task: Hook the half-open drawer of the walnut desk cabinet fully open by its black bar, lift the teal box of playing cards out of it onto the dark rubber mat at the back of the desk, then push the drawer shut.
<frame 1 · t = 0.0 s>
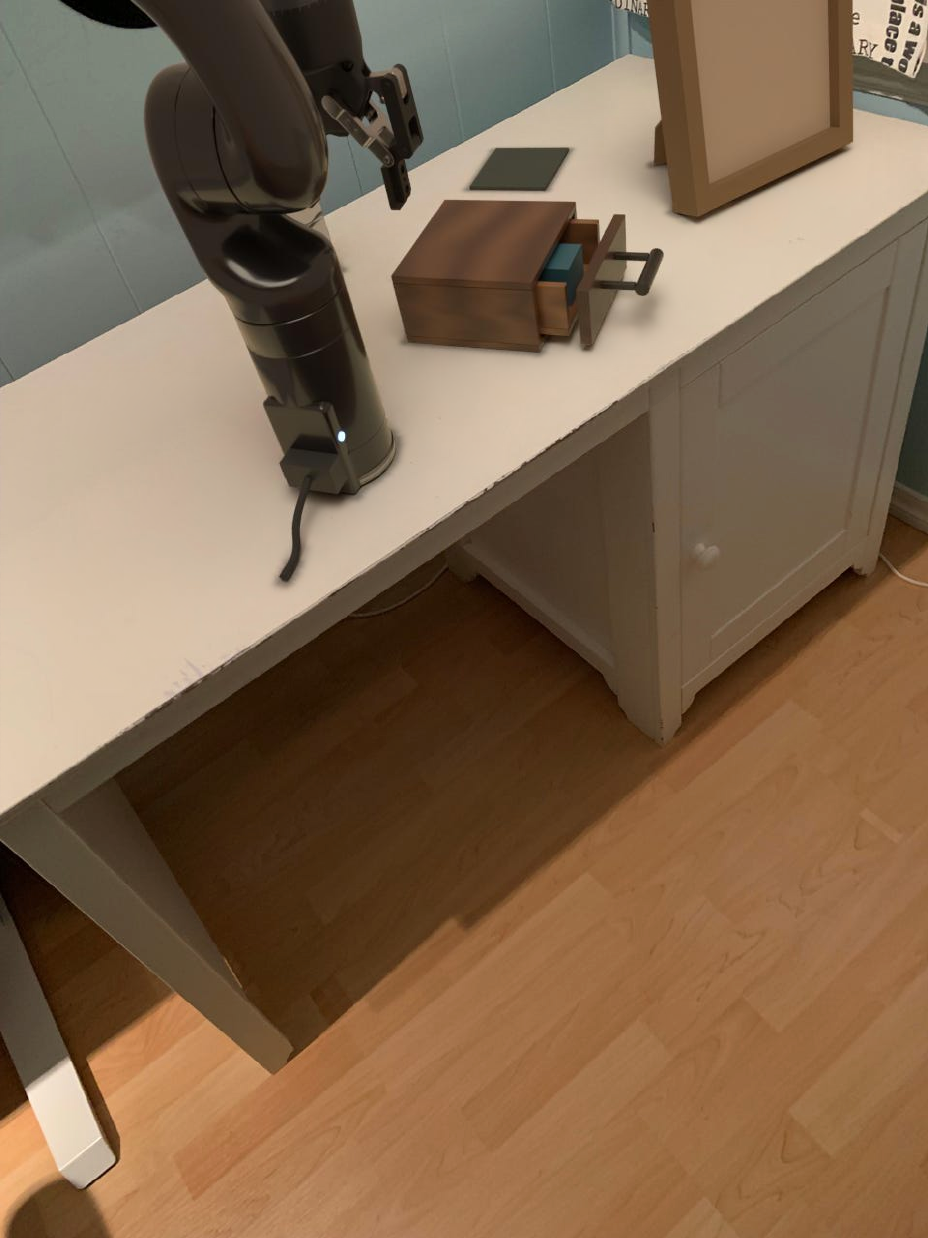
hand: (355, 204, 76), 17 cm above the table, tool pointing down, fingers open, 8 cm apart
mat: (519, 169, 111), on the table
photo frame: (731, 167, 103), on the table
card box: (547, 291, 89), point 2 cm above the table, touching drawer
ink box: (307, 270, 105), on the table
cabinet: (495, 305, 93), on the table
drawer: (565, 276, 87), point 4 cm above the table, slide at 4.0 cm, touching card box
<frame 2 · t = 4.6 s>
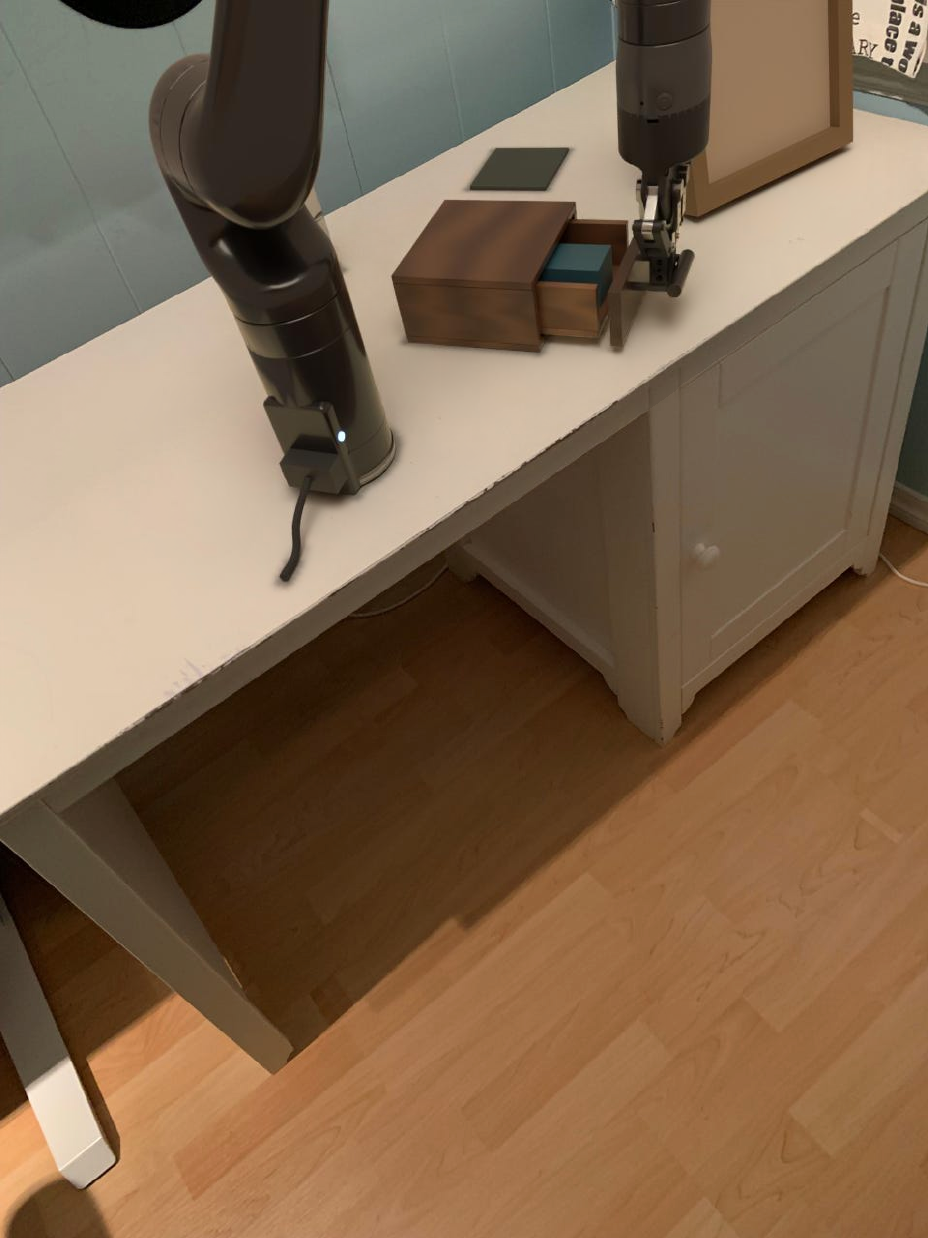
hand: (662, 283, 84), 3 cm above the table, tool pointing down, fingers closed
card box: (575, 293, 88), point 2 cm above the table, touching drawer
drawer: (594, 277, 86), point 4 cm above the table, slide at 7.0 cm, touching card box, gripper
everything else where it was.
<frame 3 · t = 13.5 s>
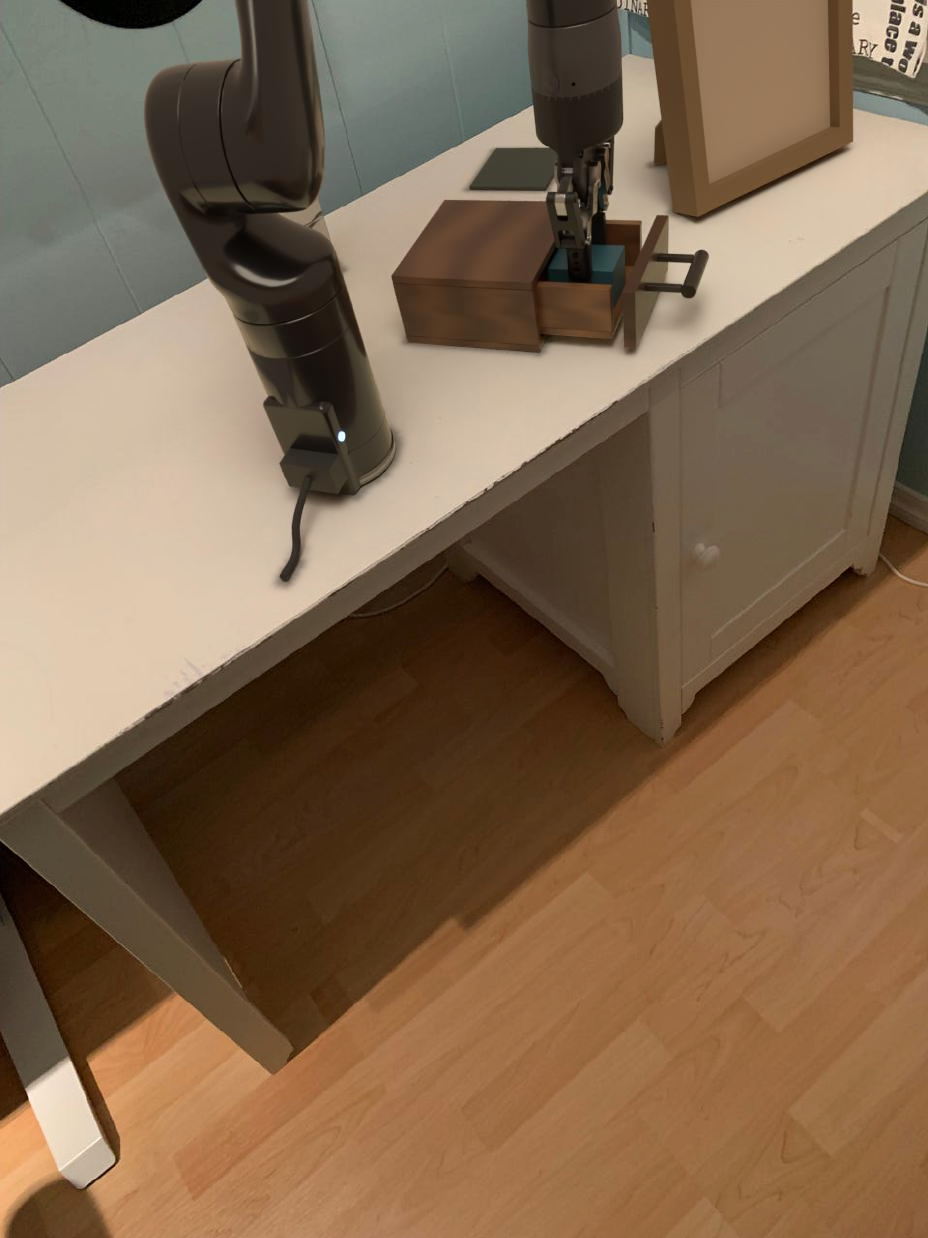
hand: (588, 262, 85), 5 cm above the table, tool pointing down, fingers closed on card box, 4 cm apart
card box: (588, 293, 88), point 2 cm above the table, touching drawer, gripper
drawer: (608, 278, 86), point 4 cm above the table, slide at 8.3 cm, touching card box
everything else where it was.
when the fingers open (4 cm above the table, at t = 21.2 s): card box stays where it is, resting on mat.
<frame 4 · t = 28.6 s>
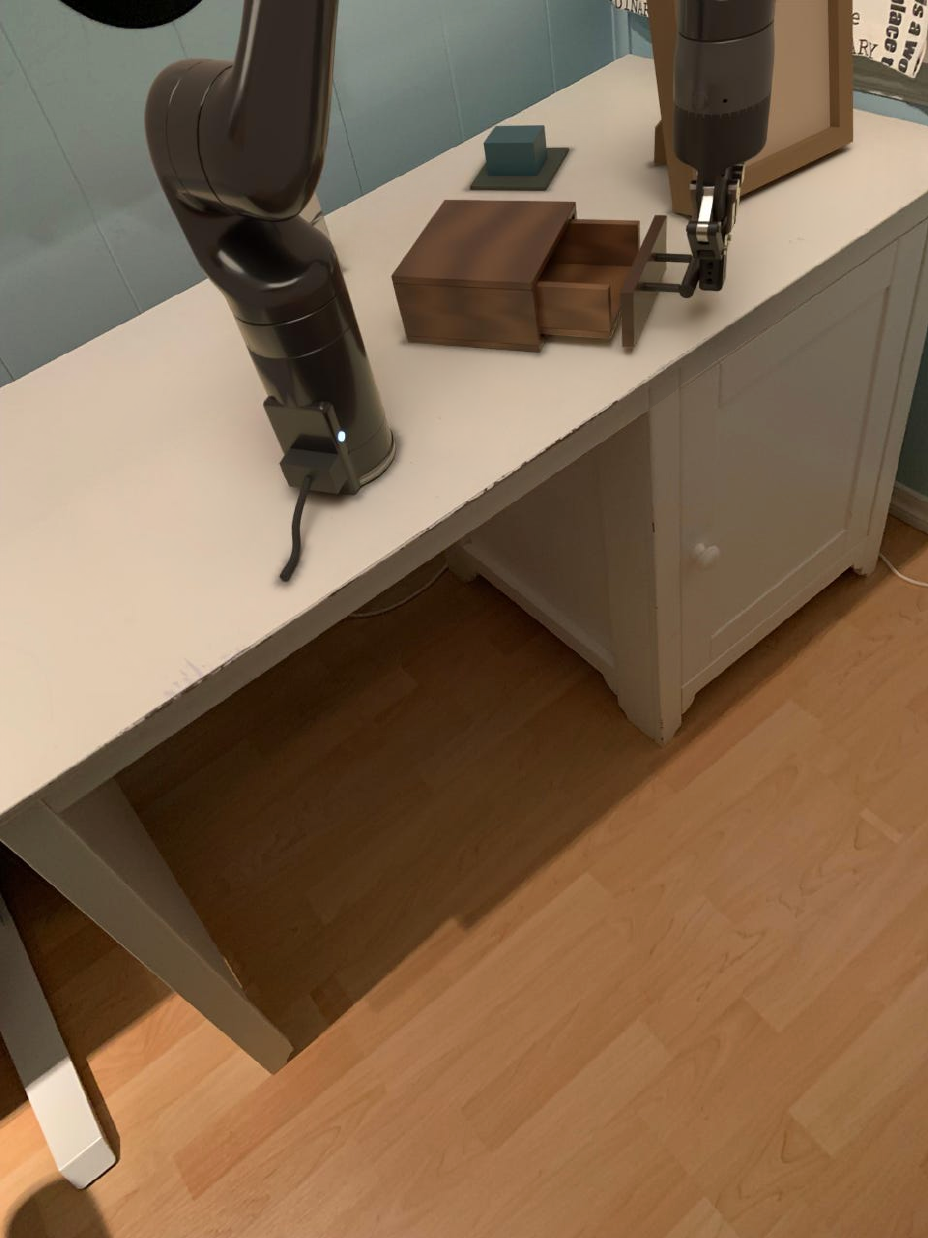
hand: (711, 286, 82), 4 cm above the table, tool pointing down, fingers closed
card box: (517, 166, 111), resting on mat
drawer: (606, 278, 86), point 4 cm above the table, slide at 8.1 cm, touching gripper
everything else where it was.
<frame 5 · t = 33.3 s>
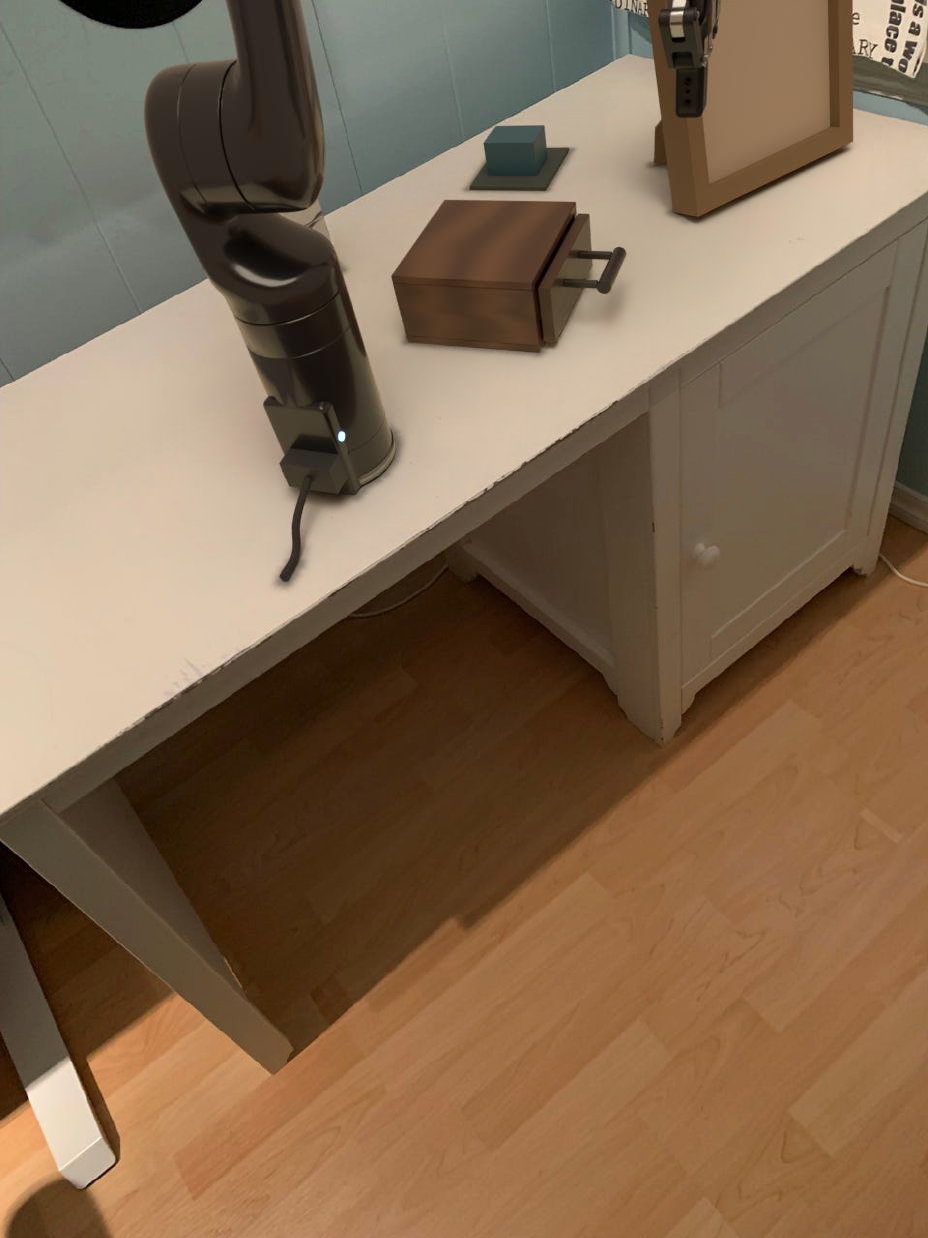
hand: (690, 112, 71), 19 cm above the table, tool pointing down, fingers closed
drawer: (530, 274, 89), point 4 cm above the table, slide at 0.3 cm
everything else where it was.
at the end: drawer pulled out 8.3 cm at the most during the clip, back to 0.3 cm at the end; card box inside the target area on the mat (0.2 cm from its centre), point 0.4 cm above the mat's base; drawer slide at 0.3 cm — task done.
